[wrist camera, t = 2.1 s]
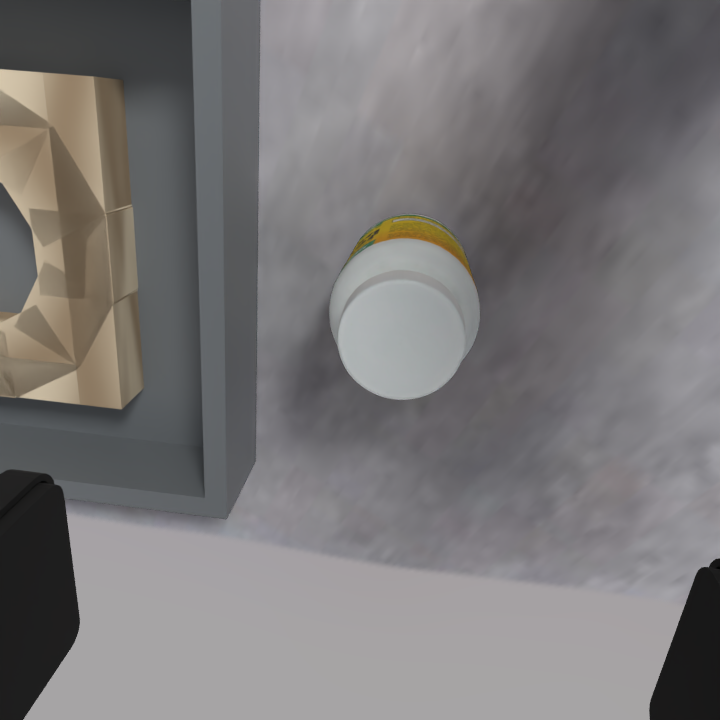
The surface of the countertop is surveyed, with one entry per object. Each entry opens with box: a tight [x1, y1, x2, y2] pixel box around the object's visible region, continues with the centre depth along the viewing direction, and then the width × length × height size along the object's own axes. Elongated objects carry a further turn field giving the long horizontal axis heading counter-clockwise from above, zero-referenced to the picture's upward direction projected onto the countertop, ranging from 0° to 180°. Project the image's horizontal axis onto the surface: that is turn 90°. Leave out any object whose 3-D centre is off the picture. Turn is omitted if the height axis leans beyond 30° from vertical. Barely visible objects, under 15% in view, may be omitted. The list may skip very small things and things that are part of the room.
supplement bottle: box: [329, 214, 480, 400], centre depth 23 cm, size 5×5×10 cm
